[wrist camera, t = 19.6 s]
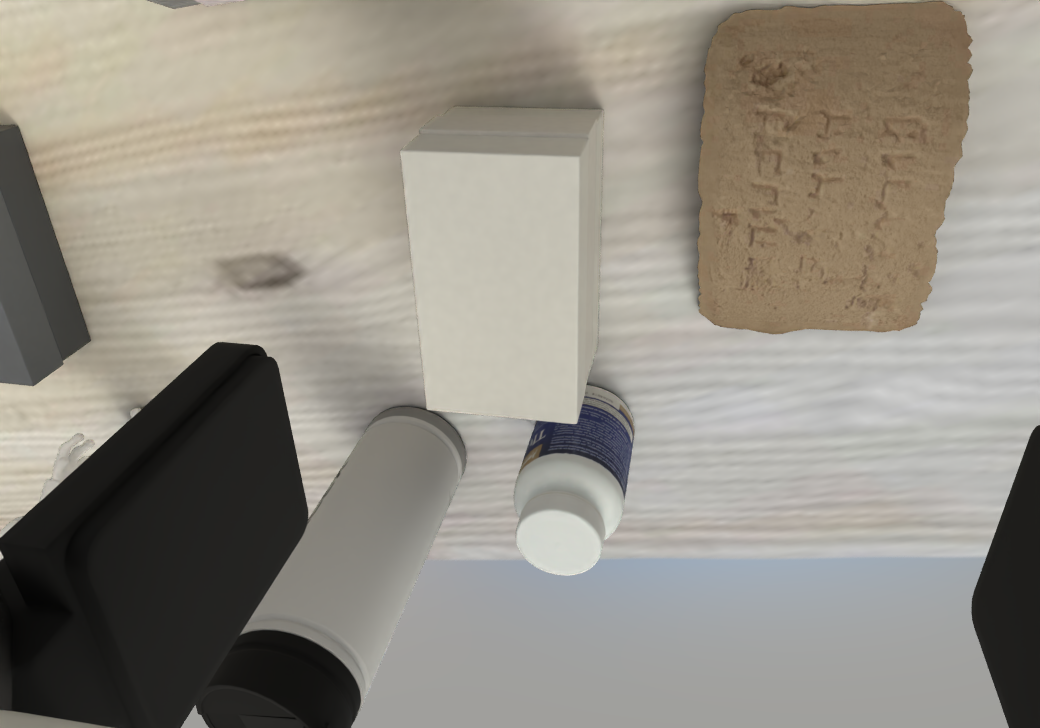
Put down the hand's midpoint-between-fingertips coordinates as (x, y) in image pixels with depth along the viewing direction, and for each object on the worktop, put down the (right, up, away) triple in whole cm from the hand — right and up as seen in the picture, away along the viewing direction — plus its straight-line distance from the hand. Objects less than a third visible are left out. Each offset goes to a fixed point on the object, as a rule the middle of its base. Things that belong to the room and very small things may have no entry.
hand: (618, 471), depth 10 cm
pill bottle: (+2, -2, +34) cm, 34 cm away
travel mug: (-7, -4, +38) cm, 39 cm away
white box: (-2, +5, +25) cm, 26 cm away
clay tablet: (+12, +9, +25) cm, 30 cm away
